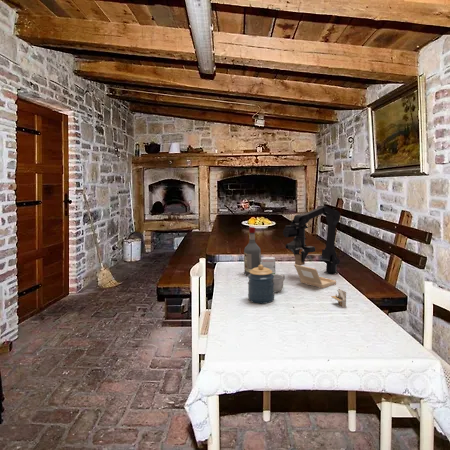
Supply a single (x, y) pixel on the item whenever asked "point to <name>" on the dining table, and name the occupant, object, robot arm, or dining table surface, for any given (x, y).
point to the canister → (261, 285)
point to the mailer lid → (308, 274)
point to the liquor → (251, 253)
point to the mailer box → (324, 284)
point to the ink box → (269, 263)
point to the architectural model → (341, 297)
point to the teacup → (278, 282)
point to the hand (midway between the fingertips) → (299, 261)
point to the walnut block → (299, 259)
